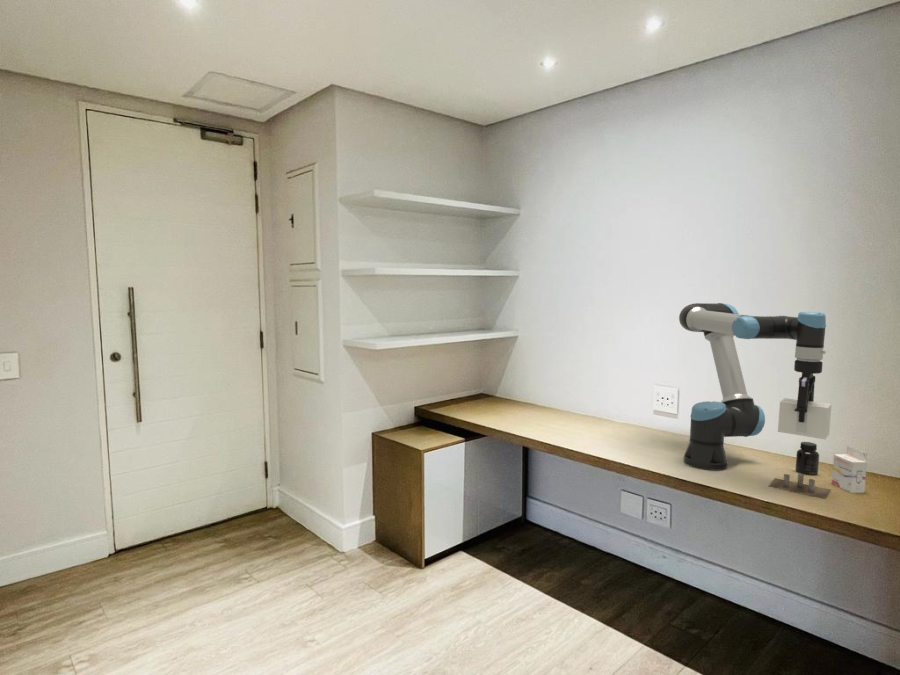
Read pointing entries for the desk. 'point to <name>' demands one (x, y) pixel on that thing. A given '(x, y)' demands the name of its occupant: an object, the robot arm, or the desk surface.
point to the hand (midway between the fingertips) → (803, 429)
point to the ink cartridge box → (850, 470)
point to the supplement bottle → (807, 459)
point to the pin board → (799, 490)
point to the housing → (815, 419)
